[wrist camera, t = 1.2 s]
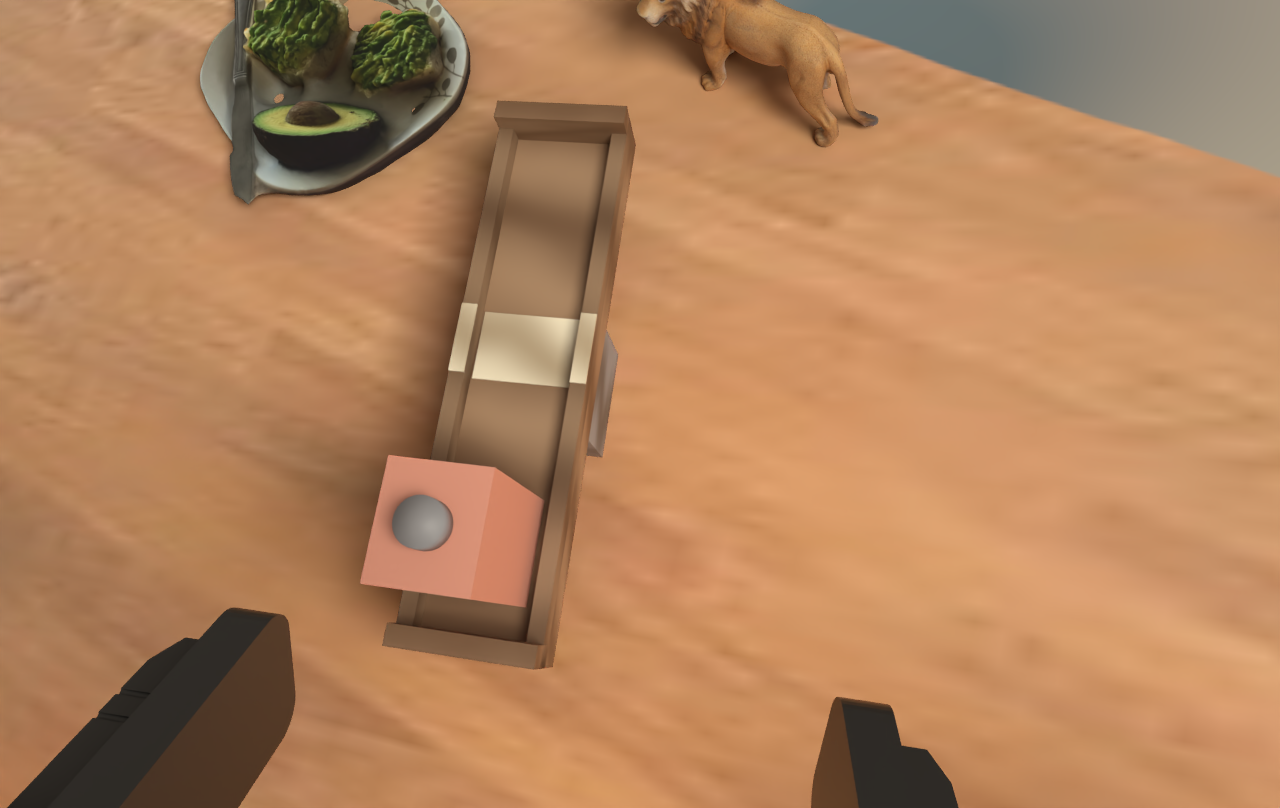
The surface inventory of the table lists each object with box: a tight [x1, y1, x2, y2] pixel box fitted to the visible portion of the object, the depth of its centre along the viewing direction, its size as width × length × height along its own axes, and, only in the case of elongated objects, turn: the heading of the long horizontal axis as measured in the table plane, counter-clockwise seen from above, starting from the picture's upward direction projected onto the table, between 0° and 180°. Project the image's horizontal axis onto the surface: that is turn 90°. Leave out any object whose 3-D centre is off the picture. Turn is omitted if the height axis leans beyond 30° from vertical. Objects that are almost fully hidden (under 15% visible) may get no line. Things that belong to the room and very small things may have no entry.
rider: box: [360, 455, 545, 608], centre depth 35 cm, size 5×4×9 cm
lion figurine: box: [636, 0, 878, 147], centre depth 46 cm, size 15×5×9 cm, turn 63°
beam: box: [382, 101, 636, 669], centre depth 43 cm, size 28×7×8 cm, turn 172°
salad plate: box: [200, 0, 470, 204], centre depth 53 cm, size 19×18×5 cm
